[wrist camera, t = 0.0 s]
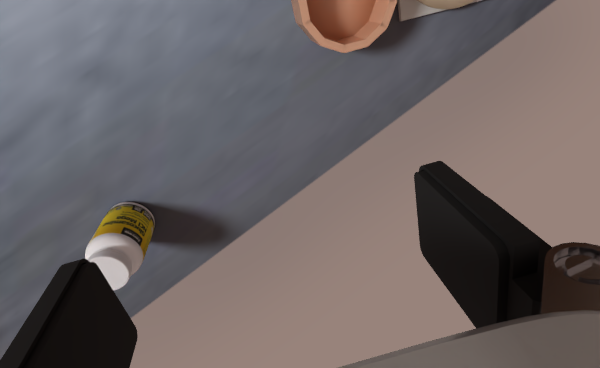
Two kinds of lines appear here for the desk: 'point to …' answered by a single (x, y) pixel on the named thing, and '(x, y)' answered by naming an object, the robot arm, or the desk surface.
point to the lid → (445, 3)
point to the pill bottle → (121, 242)
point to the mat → (415, 9)
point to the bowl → (343, 21)
